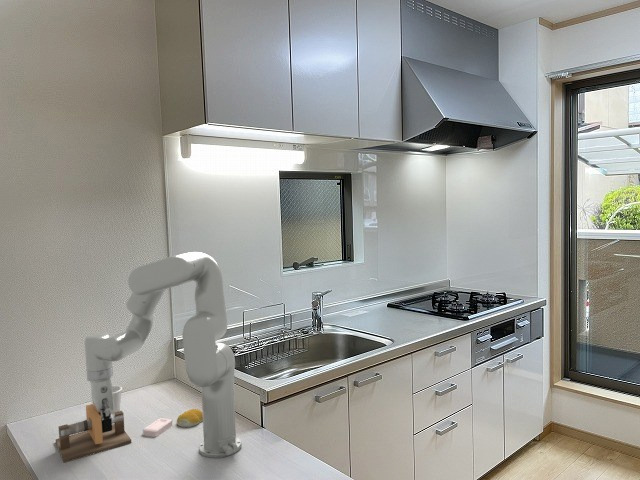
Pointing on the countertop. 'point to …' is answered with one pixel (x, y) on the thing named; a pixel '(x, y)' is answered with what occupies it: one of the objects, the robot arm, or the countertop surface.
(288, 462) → the countertop surface
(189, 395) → the countertop surface
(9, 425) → the countertop surface
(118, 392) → the dixie cup
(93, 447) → the pipe stand
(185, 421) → the bread roll
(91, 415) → the collar
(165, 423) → the soap bar
